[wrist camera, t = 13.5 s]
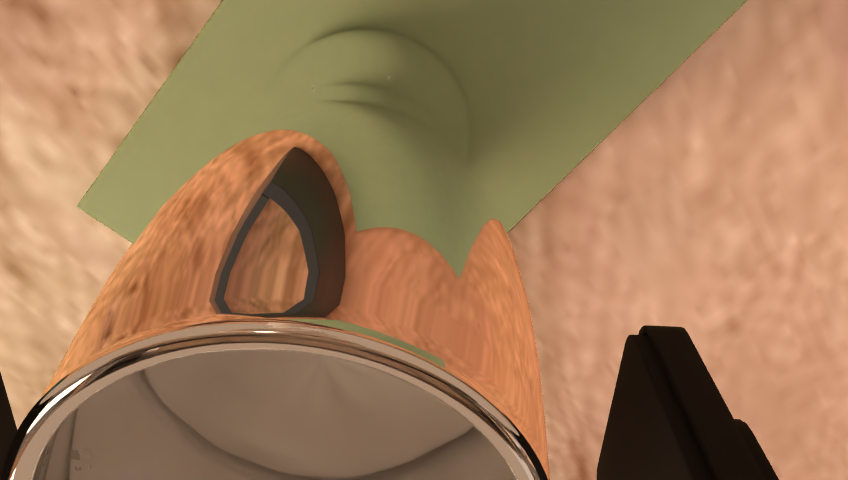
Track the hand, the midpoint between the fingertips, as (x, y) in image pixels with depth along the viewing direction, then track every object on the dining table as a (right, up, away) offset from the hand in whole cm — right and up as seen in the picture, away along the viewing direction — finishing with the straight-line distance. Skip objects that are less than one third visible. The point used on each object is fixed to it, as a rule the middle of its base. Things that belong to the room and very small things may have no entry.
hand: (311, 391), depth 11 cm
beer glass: (0, +6, +11) cm, 13 cm away
